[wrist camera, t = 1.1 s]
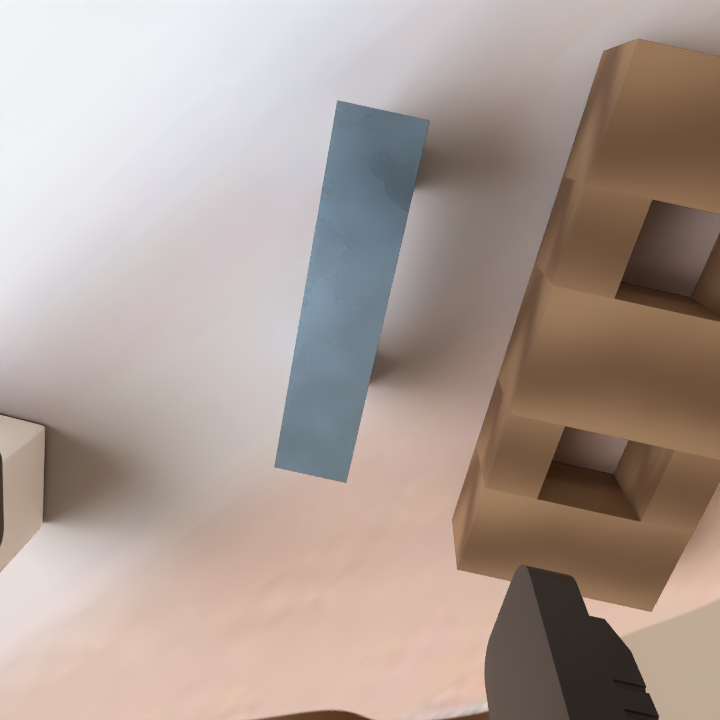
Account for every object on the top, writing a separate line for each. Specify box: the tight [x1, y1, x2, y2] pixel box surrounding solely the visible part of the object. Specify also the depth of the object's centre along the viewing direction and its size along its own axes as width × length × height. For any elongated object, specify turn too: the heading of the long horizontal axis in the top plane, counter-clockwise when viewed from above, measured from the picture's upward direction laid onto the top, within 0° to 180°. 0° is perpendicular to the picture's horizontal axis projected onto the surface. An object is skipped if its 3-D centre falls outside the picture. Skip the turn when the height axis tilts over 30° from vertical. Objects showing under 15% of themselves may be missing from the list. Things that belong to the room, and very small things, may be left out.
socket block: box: [452, 39, 720, 612], centre depth 27 cm, size 24×10×4 cm, turn 169°
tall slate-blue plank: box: [275, 100, 429, 483], centre depth 25 cm, size 14×3×8 cm, turn 169°
